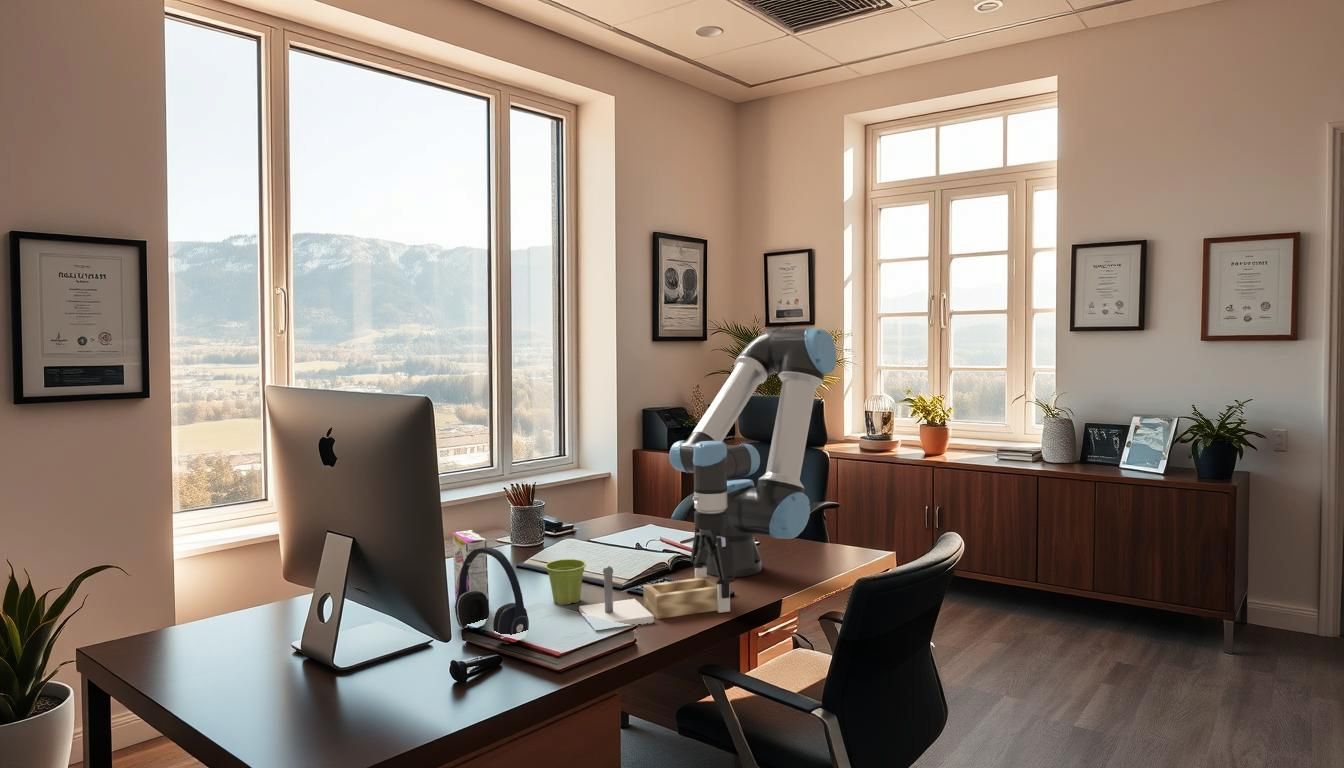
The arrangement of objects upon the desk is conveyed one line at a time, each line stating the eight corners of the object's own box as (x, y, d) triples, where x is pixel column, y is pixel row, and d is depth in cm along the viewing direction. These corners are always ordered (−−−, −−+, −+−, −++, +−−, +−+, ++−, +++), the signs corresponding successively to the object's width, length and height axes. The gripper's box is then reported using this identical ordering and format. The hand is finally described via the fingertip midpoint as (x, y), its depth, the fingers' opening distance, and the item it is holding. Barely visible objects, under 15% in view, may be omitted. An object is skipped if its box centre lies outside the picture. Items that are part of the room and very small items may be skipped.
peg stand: (634, 605, 200) (633, 555, 199) (653, 622, 188) (652, 569, 187) (579, 612, 195) (577, 561, 195) (595, 631, 183) (593, 576, 182)
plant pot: (580, 608, 198) (579, 570, 198) (540, 606, 200) (539, 569, 200) (592, 595, 208) (591, 559, 207) (554, 594, 209) (553, 558, 209)
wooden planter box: (708, 597, 204) (708, 576, 204) (724, 609, 196) (724, 587, 195) (643, 606, 198) (643, 585, 198) (657, 618, 190) (656, 596, 190)
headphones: (449, 629, 186) (446, 544, 185) (477, 621, 191) (474, 538, 190) (507, 651, 173) (504, 560, 171) (534, 641, 178) (532, 553, 177)
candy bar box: (453, 601, 206) (451, 532, 205) (474, 597, 208) (472, 529, 207) (468, 613, 196) (465, 541, 195) (490, 609, 199) (487, 538, 198)
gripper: (675, 501, 208) (677, 590, 210) (717, 522, 185) (718, 621, 187) (704, 499, 211) (706, 586, 212) (749, 518, 188) (750, 617, 189)
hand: (712, 603), depth 200 cm, fingers open, 12 cm apart
